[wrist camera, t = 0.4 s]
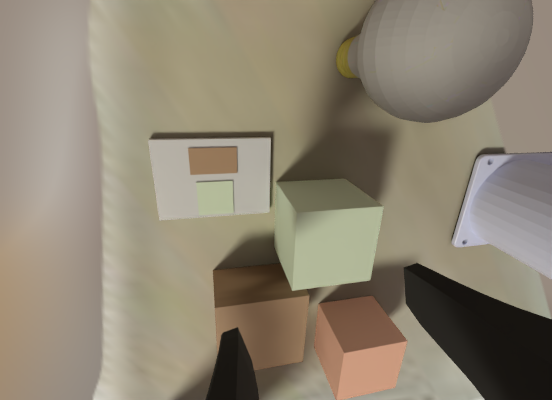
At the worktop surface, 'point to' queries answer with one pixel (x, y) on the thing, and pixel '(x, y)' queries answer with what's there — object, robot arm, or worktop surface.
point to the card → (211, 176)
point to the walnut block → (262, 313)
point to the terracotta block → (358, 346)
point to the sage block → (325, 232)
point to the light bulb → (437, 54)
